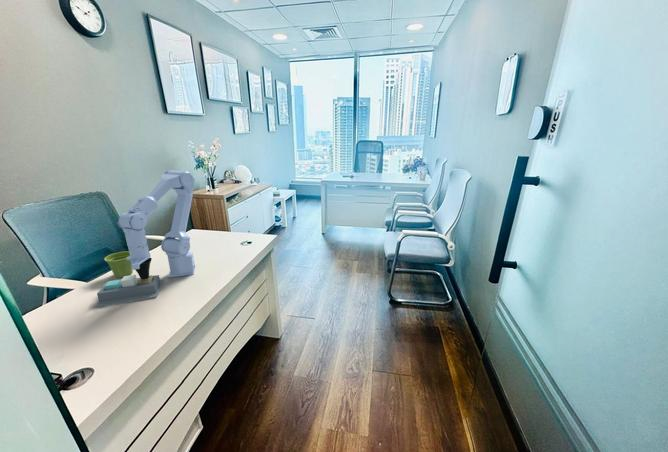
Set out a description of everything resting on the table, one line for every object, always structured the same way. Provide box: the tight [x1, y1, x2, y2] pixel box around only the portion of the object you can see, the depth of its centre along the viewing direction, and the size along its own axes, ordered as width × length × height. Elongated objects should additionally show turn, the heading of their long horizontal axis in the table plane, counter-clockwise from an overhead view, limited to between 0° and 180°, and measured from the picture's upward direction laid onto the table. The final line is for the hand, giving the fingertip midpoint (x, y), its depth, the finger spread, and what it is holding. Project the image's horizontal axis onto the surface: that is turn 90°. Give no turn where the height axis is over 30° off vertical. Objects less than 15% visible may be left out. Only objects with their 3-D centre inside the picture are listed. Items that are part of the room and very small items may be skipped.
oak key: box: [138, 274, 153, 285], centre depth 99 cm, size 4×4×4 cm
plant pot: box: [104, 250, 134, 279], centre depth 110 cm, size 9×9×9 cm
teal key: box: [105, 279, 122, 290], centre depth 96 cm, size 4×4×4 cm
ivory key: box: [120, 274, 138, 287], centre depth 97 cm, size 4×4×4 cm
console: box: [94, 274, 164, 309], centre depth 98 cm, size 18×13×4 cm
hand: (145, 278), depth 99 cm, fingers closed, pressing on oak key
